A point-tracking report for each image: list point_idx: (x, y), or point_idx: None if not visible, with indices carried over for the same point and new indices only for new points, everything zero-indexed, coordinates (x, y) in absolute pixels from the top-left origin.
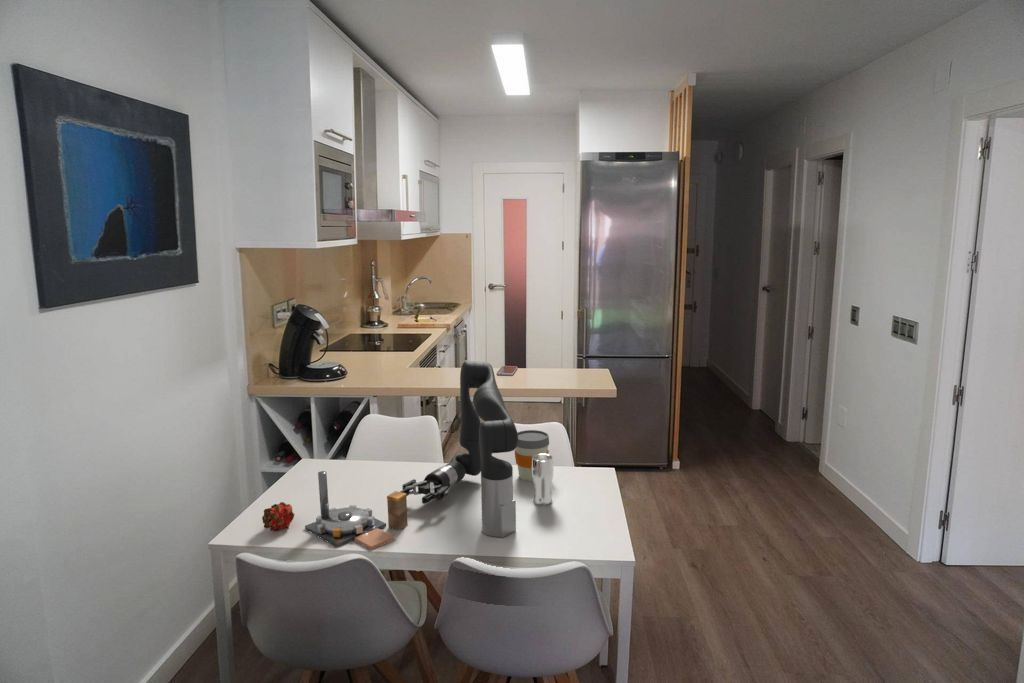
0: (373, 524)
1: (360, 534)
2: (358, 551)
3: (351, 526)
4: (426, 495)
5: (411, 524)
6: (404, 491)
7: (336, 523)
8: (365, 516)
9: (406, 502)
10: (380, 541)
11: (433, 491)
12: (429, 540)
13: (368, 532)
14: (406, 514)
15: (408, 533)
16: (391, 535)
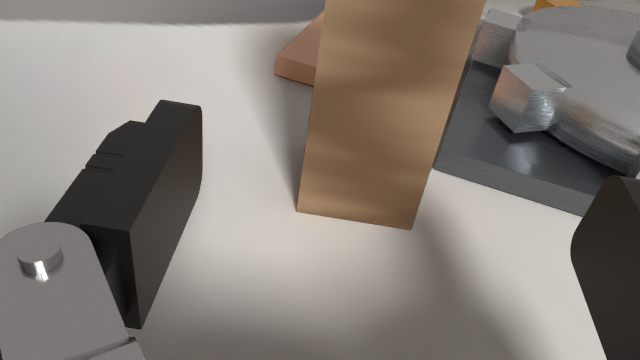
0: (506, 130)
1: (471, 60)
2: None
3: (529, 16)
4: (147, 145)
5: (269, 224)
6: (637, 234)
7: (628, 29)
8: (582, 85)
9: (325, 7)
10: (318, 25)
11: (19, 297)
12: (39, 85)
13: None
14: (309, 119)
15: (224, 127)
16: (298, 59)
